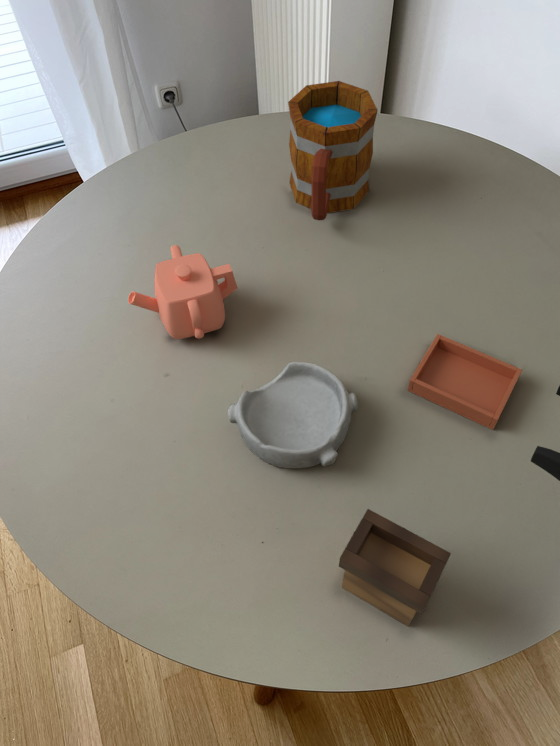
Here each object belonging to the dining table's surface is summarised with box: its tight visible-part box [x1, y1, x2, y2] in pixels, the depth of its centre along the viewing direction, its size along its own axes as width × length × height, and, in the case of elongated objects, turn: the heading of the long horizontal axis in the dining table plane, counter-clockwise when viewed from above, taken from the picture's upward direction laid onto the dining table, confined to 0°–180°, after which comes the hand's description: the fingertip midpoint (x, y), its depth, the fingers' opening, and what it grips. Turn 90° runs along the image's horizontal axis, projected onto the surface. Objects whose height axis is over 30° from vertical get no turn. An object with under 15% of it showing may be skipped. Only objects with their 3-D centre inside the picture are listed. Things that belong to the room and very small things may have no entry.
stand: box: [341, 533, 431, 627], centre depth 68 cm, size 8×5×8 cm, turn 59°
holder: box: [407, 333, 523, 431], centre depth 85 cm, size 12×9×2 cm
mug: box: [287, 80, 378, 221], centre depth 102 cm, size 20×14×15 cm
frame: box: [338, 508, 452, 615], centre depth 64 cm, size 9×6×2 cm, turn 59°
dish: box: [227, 361, 358, 469], centre depth 81 cm, size 14×14×5 cm
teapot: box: [127, 244, 239, 340], centre depth 90 cm, size 12×12×10 cm
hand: (546, 418), depth 59 cm, fingers open, 7 cm apart
